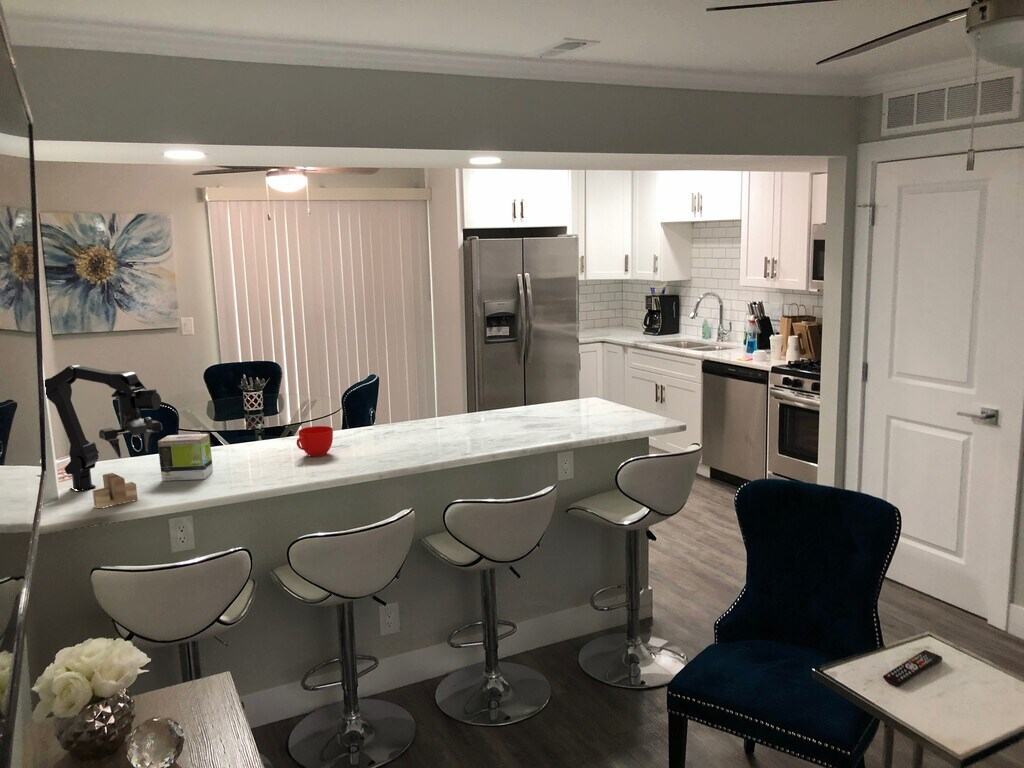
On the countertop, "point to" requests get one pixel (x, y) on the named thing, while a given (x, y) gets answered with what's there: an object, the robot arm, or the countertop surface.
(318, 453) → the ceramic cup
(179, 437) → the tea box
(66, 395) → the robot arm
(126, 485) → the u-shaped oak block
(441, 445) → the countertop surface
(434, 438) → the countertop surface
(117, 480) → the tan wooden beam
